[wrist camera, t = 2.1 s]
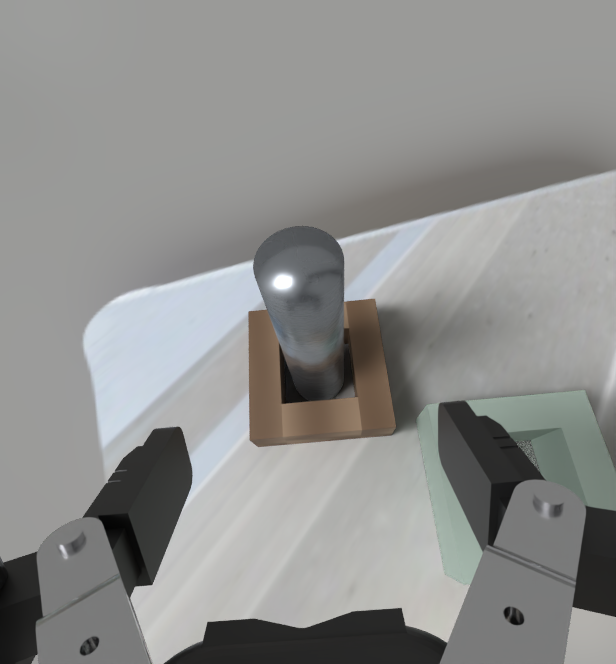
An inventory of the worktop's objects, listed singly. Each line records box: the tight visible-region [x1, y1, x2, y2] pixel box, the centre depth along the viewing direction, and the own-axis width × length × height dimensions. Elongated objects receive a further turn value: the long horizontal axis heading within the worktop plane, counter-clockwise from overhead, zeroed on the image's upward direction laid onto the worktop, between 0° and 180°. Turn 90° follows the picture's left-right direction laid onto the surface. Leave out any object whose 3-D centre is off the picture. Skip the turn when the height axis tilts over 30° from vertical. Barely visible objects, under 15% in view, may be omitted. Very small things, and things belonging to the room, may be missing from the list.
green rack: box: [416, 390, 616, 585], centre depth 26 cm, size 10×10×4 cm
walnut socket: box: [249, 299, 396, 447], centre depth 31 cm, size 10×10×3 cm
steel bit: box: [253, 226, 344, 401], centre depth 25 cm, size 4×4×16 cm
